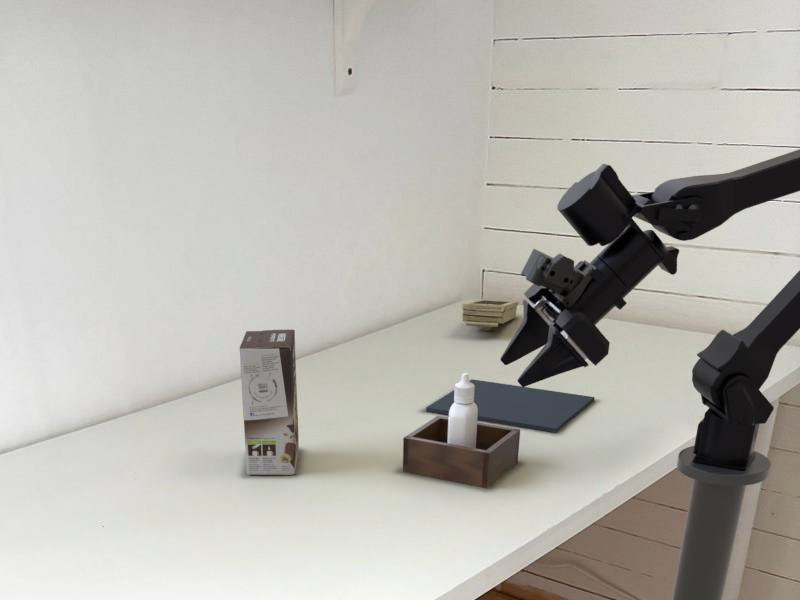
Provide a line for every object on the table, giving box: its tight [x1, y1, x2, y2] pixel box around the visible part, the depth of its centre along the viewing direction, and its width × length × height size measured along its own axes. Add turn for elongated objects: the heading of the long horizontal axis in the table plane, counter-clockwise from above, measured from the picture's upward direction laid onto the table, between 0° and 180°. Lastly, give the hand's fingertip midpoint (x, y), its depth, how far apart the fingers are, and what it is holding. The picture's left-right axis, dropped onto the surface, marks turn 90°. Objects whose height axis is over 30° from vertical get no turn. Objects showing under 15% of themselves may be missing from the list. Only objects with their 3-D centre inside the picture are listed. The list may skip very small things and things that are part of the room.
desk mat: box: [425, 378, 595, 433], centre depth 146 cm, size 20×16×1 cm
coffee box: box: [239, 329, 300, 476], centre depth 125 cm, size 9×6×16 cm
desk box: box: [402, 415, 521, 489], centre depth 125 cm, size 12×10×4 cm
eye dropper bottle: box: [447, 372, 478, 448], centre depth 123 cm, size 4×6×12 cm
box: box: [461, 299, 519, 331], centre depth 187 cm, size 8×22×5 cm, turn 164°
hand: (511, 372), depth 120 cm, fingers open, 9 cm apart
